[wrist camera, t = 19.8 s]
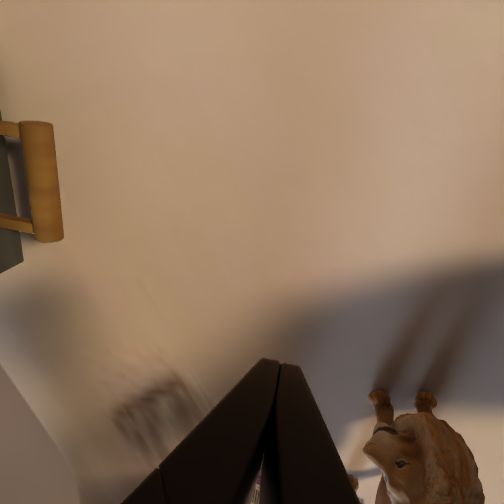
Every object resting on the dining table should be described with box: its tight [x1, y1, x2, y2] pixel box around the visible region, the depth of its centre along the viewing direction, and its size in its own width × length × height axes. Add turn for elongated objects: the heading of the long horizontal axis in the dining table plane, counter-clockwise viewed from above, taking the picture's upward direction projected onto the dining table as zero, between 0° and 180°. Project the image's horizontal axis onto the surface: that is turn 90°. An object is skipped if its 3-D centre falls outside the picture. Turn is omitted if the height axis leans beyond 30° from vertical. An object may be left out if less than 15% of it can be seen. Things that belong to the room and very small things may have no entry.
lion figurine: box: [348, 390, 485, 504], centre depth 19 cm, size 15×5×9 cm, turn 2°
